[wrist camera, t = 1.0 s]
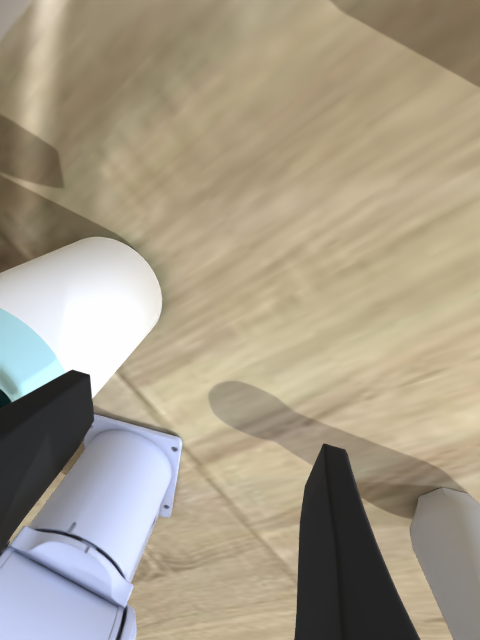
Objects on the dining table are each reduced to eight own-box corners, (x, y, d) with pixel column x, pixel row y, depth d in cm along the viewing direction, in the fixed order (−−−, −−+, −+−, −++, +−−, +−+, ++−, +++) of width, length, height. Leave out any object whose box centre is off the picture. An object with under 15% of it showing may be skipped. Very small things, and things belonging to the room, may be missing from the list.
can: (106, 209, 21) (-98, 274, 11) (188, 298, 23) (81, 432, 12) (43, 279, 24) (-168, 385, 13) (120, 354, 26) (-15, 501, 15)
